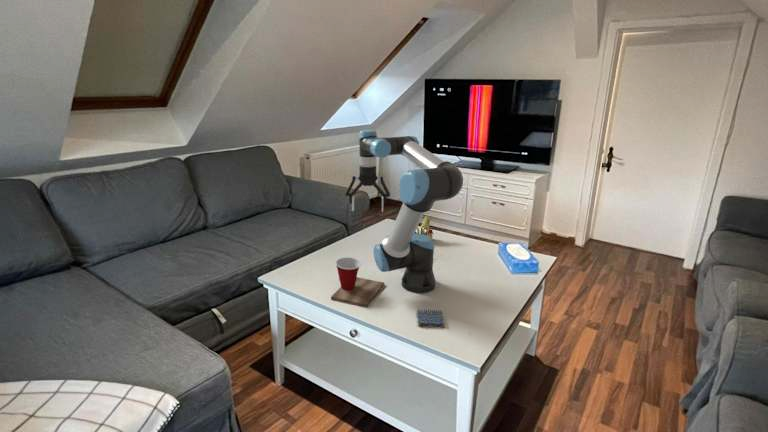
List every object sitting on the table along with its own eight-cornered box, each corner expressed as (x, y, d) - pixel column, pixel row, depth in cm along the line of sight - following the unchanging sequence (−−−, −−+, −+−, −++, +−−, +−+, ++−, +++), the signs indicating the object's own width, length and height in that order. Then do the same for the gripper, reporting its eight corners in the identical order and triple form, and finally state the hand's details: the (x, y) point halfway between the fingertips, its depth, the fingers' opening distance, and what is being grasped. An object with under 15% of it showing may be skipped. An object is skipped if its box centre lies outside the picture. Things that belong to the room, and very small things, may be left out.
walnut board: (384, 284, 183) (384, 282, 183) (366, 307, 166) (366, 304, 165) (351, 278, 189) (351, 276, 188) (331, 299, 171) (330, 296, 171)
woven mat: (442, 313, 163) (442, 308, 162) (445, 329, 153) (445, 324, 152) (415, 312, 163) (415, 308, 162) (417, 328, 153) (417, 323, 152)
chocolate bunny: (415, 243, 229) (417, 217, 225) (426, 237, 238) (427, 213, 233) (426, 246, 226) (427, 220, 221) (436, 240, 234) (438, 215, 229)
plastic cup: (357, 294, 172) (357, 268, 168) (332, 291, 174) (331, 266, 170) (363, 282, 182) (363, 258, 178) (340, 280, 184) (339, 255, 181)
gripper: (395, 164, 188) (394, 208, 195) (340, 163, 188) (341, 207, 195) (395, 167, 181) (394, 213, 187) (339, 166, 181) (339, 212, 188)
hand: (367, 210), depth 191 cm, fingers open, 13 cm apart
